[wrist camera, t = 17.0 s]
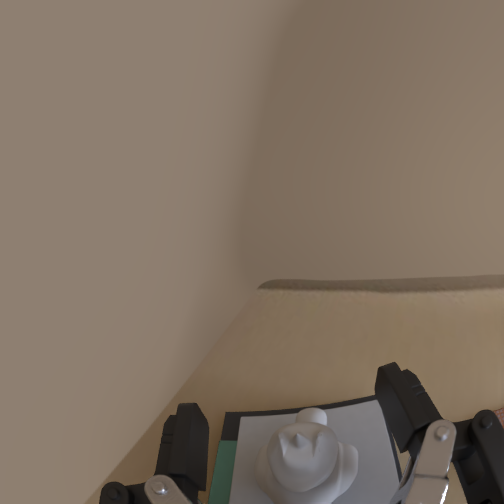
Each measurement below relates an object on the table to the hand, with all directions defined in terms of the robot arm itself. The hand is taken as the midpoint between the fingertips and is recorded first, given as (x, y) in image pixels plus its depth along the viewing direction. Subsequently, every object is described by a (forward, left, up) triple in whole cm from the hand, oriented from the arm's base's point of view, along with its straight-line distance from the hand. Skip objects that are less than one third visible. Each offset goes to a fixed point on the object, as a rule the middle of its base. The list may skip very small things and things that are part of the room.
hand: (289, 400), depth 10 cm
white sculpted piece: (0, -1, -7) cm, 7 cm away
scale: (0, -1, -10) cm, 10 cm away
